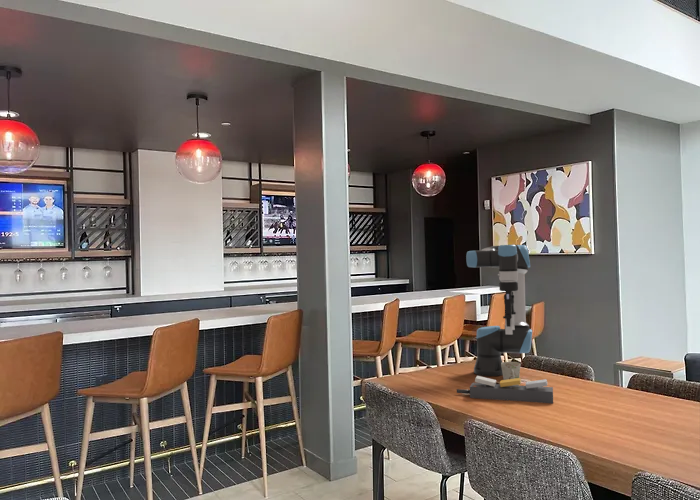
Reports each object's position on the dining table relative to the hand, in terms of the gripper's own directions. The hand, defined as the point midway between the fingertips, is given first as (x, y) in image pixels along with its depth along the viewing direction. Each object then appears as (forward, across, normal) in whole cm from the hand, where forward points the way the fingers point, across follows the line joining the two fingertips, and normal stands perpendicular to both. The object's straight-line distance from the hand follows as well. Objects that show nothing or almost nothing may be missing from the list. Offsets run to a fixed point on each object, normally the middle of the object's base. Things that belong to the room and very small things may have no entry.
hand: (510, 332), depth 222 cm
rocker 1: (+20, +7, -10) cm, 23 cm away
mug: (+27, -13, -1) cm, 30 cm away
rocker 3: (+20, +7, +10) cm, 23 cm away
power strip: (+26, +7, -3) cm, 27 cm away
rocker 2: (+20, +7, 0) cm, 21 cm away
